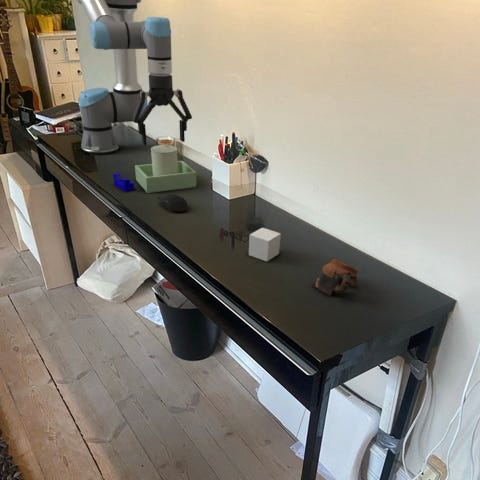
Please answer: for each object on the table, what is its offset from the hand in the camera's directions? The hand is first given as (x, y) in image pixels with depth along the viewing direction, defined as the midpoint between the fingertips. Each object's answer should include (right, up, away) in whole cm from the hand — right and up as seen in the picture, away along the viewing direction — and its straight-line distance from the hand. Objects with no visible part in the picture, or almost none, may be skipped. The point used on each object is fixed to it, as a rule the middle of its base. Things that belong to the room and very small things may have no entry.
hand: (163, 142), depth 168 cm
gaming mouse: (+4, -24, -9) cm, 26 cm away
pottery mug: (+50, -54, -49) cm, 88 cm away
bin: (0, -12, +8) cm, 14 cm away
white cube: (+33, -44, -35) cm, 65 cm away
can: (0, -11, +8) cm, 14 cm away
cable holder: (-14, -15, +3) cm, 21 cm away
